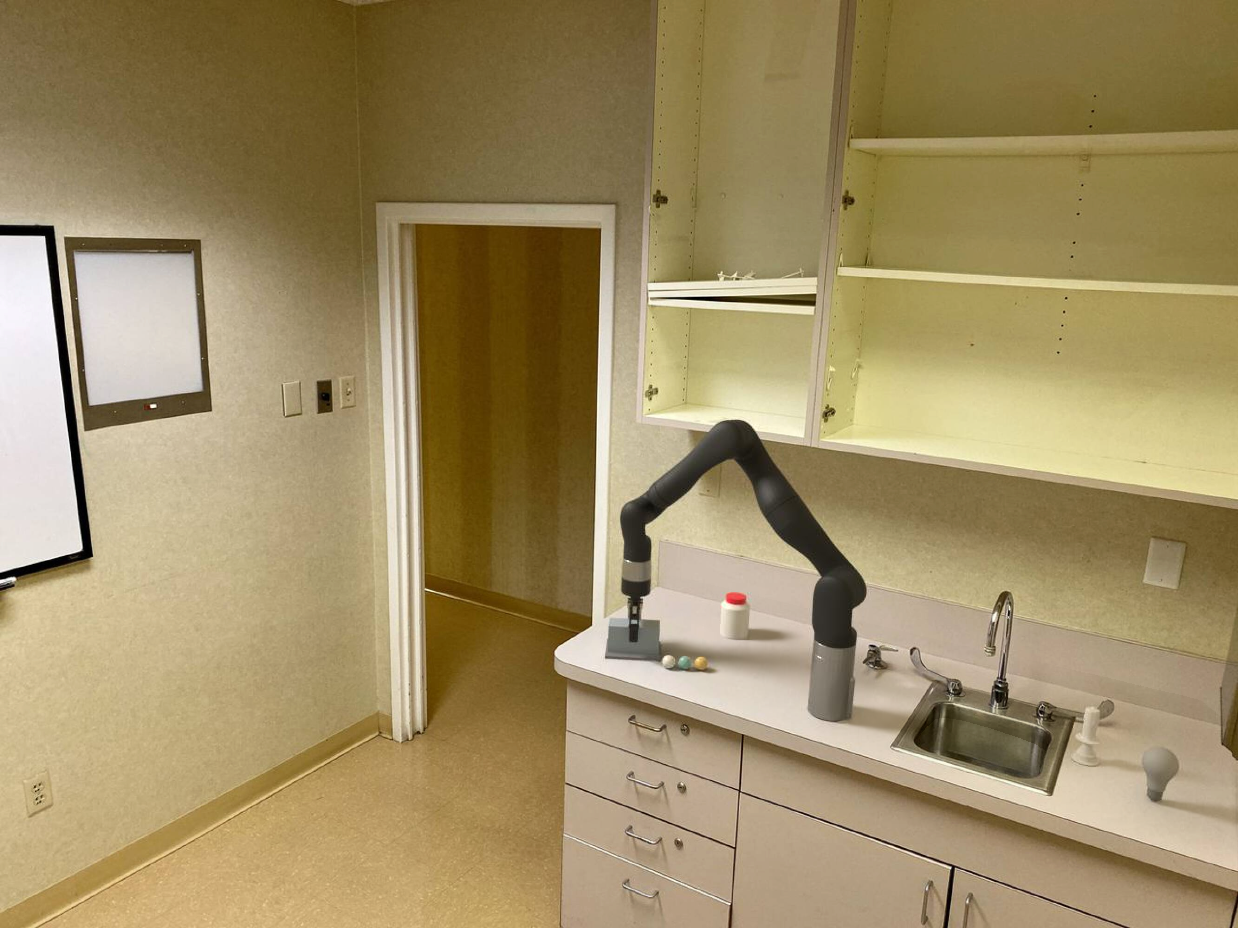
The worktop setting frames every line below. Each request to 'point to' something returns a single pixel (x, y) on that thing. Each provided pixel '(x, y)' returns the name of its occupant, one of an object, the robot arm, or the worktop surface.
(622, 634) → the cover
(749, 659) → the worktop surface
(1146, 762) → the lightbulb
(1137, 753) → the worktop surface
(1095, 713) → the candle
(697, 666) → the marble amber
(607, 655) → the mat
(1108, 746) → the worktop surface
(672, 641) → the worktop surface
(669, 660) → the marble white
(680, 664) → the marble teal
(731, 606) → the pill bottle
